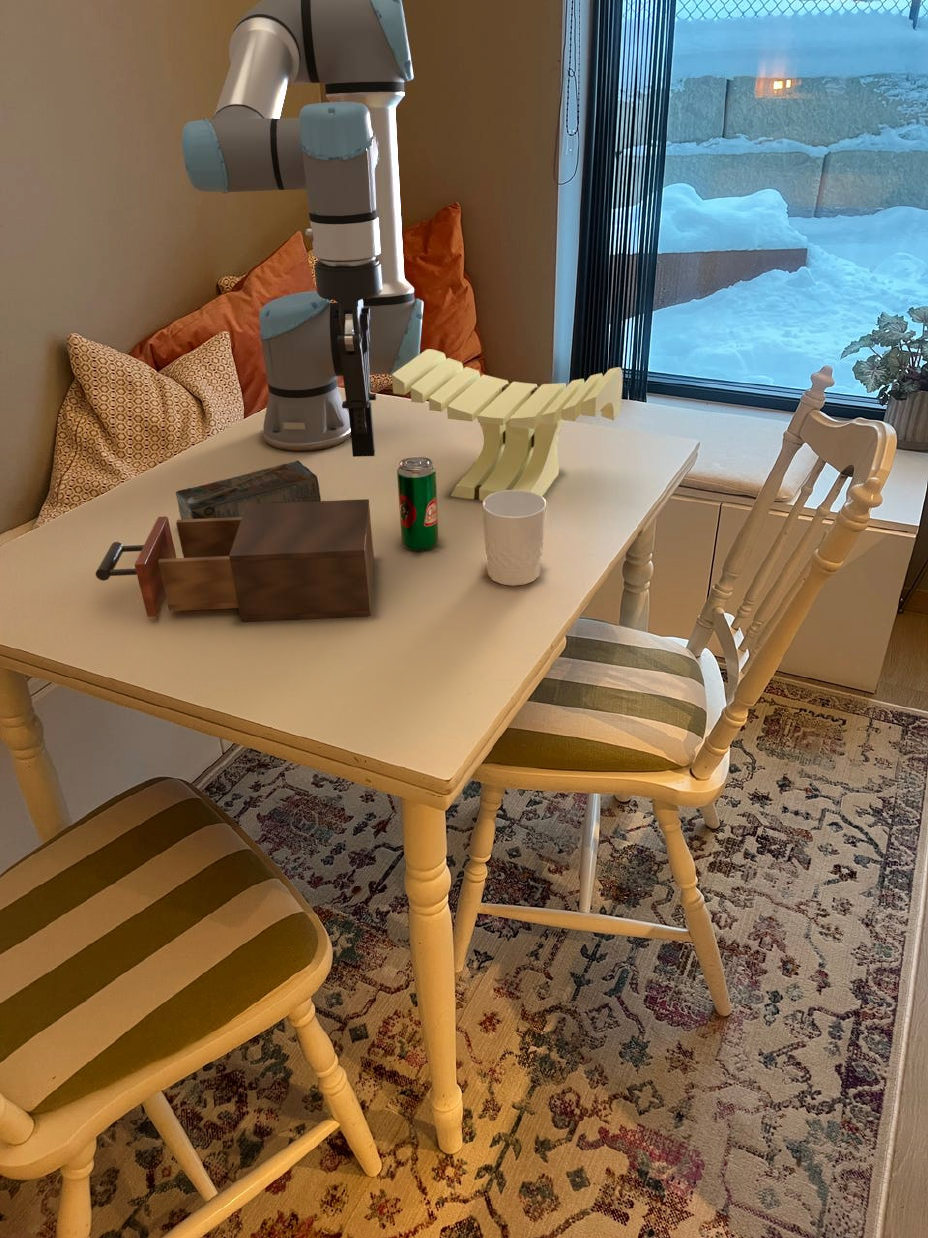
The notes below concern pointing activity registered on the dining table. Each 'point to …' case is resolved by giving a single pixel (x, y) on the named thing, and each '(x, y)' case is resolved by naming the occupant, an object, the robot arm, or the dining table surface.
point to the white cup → (514, 535)
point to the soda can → (418, 503)
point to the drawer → (182, 565)
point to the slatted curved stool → (507, 418)
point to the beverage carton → (249, 492)
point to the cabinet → (303, 560)
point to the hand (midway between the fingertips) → (363, 453)
